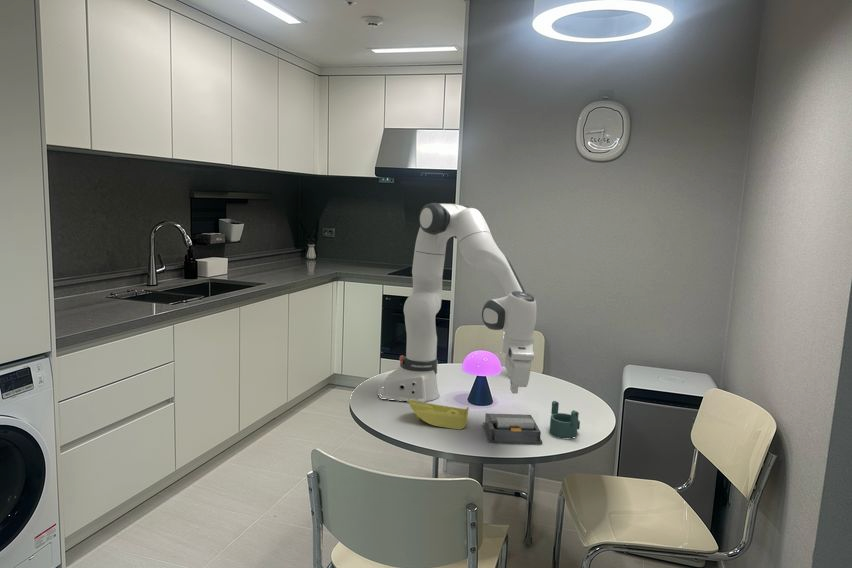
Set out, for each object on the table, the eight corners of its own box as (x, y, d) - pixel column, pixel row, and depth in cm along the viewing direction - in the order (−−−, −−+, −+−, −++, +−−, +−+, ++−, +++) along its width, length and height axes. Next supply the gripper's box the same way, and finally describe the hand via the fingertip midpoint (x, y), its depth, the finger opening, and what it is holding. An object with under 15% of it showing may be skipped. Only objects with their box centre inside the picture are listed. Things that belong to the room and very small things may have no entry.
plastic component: (468, 409, 185) (468, 406, 175) (465, 432, 182) (465, 430, 173) (409, 400, 187) (407, 397, 177) (406, 423, 184) (403, 420, 175)
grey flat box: (488, 442, 164) (489, 428, 163) (482, 424, 178) (483, 411, 177) (542, 444, 164) (543, 430, 164) (532, 426, 178) (533, 413, 178)
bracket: (575, 441, 168) (578, 412, 167) (545, 435, 172) (547, 407, 170) (580, 431, 176) (582, 404, 175) (551, 425, 180) (553, 399, 179)
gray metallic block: (496, 438, 166) (497, 422, 165) (495, 433, 169) (496, 417, 169) (533, 439, 166) (534, 423, 165) (530, 434, 170) (531, 418, 169)
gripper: (502, 338, 174) (498, 380, 176) (512, 355, 154) (508, 403, 156) (522, 339, 174) (518, 381, 176) (535, 356, 154) (530, 404, 156)
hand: (513, 392), depth 166 cm, fingers closed
